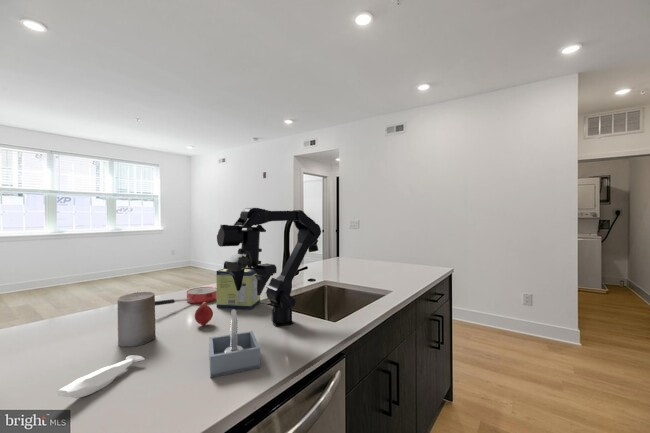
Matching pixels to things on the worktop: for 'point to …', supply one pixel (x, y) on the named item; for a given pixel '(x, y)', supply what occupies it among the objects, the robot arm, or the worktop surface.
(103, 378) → the white fish figurine
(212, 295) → the frying pan
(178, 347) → the worktop surface
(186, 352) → the worktop surface
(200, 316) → the pomegranate
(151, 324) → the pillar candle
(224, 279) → the protein box
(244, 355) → the tote
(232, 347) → the screw
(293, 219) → the robot arm
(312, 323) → the worktop surface
